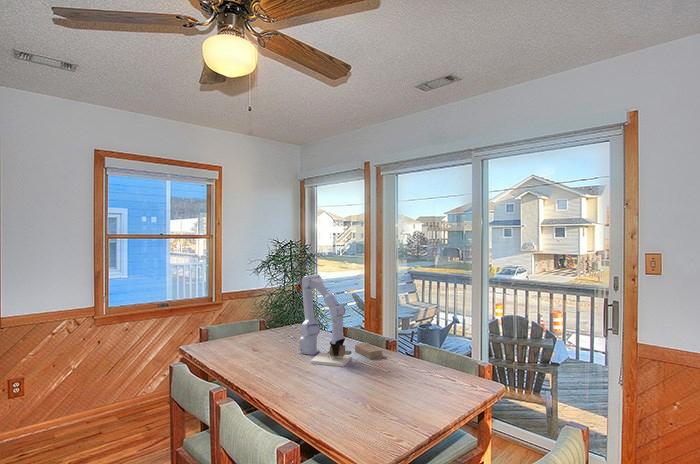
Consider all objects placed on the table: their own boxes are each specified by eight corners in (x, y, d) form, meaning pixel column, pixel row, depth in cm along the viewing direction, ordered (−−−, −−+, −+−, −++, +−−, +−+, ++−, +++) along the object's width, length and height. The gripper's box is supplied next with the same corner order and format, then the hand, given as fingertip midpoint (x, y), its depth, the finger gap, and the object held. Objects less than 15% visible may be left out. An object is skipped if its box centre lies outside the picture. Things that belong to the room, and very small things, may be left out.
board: (310, 363, 194) (310, 360, 194) (320, 355, 207) (320, 352, 207) (343, 366, 189) (343, 363, 189) (351, 358, 202) (351, 355, 202)
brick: (383, 357, 204) (383, 349, 204) (370, 360, 199) (370, 351, 199) (366, 350, 218) (366, 341, 218) (354, 352, 213) (354, 344, 213)
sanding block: (329, 356, 196) (329, 346, 196) (332, 353, 200) (332, 344, 200) (342, 357, 194) (342, 348, 194) (345, 354, 198) (345, 345, 198)
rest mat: (326, 354, 208) (326, 353, 208) (330, 350, 216) (330, 349, 216) (347, 356, 205) (347, 355, 205) (350, 352, 212) (350, 351, 212)
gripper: (340, 332, 189) (340, 358, 189) (348, 325, 203) (348, 350, 203) (327, 331, 191) (327, 357, 191) (336, 324, 205) (336, 349, 205)
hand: (337, 353), depth 197 cm, fingers closed on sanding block, 5 cm apart
